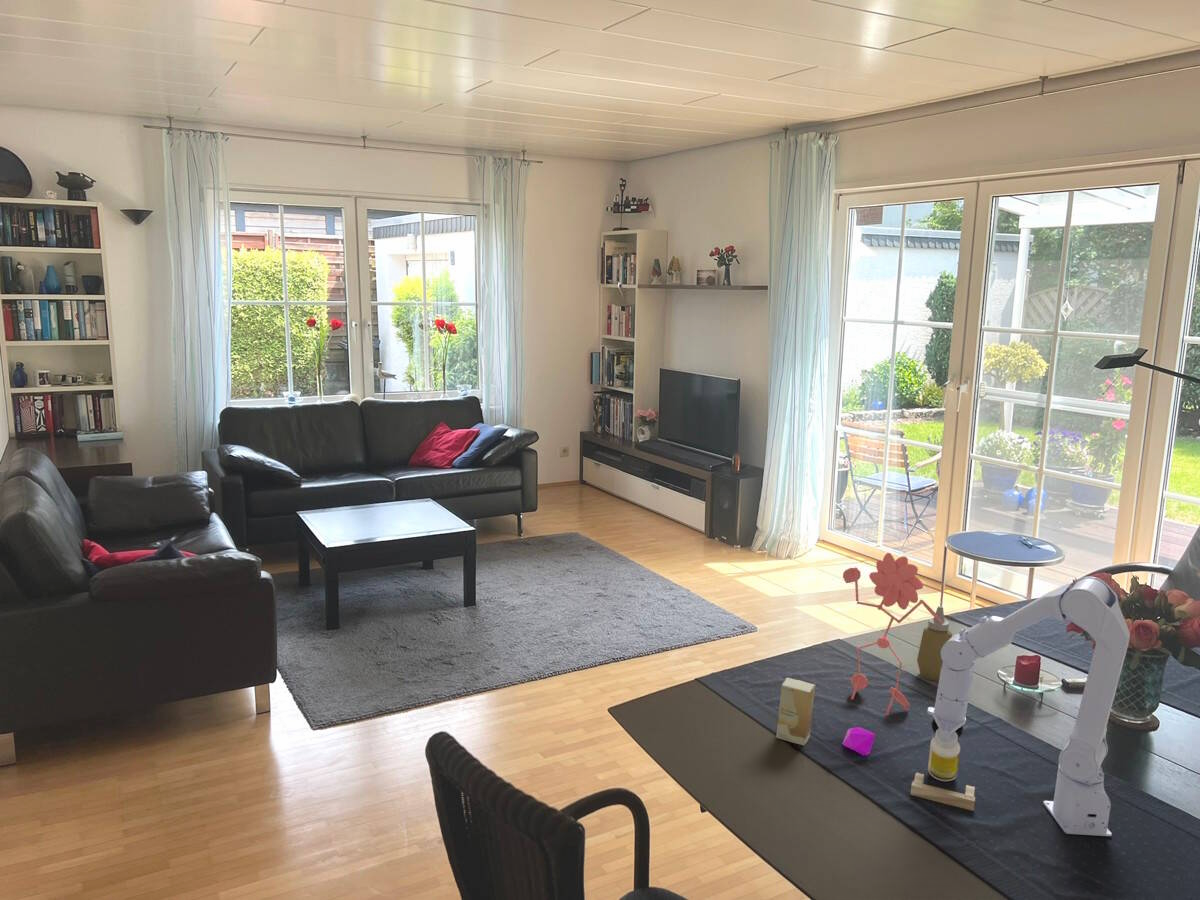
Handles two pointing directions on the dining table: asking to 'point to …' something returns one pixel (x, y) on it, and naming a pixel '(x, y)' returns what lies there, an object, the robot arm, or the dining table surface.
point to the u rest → (943, 794)
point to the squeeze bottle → (933, 646)
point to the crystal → (859, 740)
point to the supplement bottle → (944, 757)
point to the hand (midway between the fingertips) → (942, 756)
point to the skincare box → (795, 711)
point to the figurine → (894, 586)
